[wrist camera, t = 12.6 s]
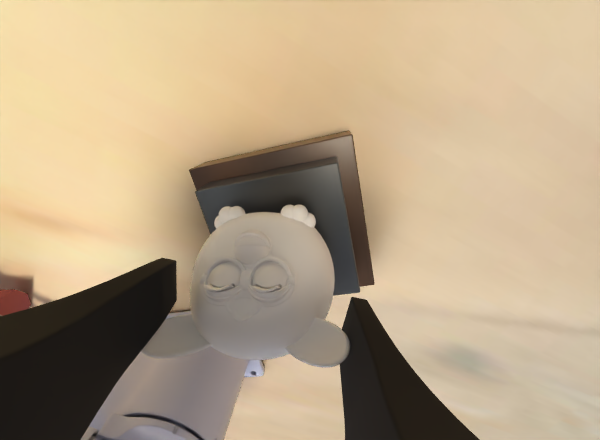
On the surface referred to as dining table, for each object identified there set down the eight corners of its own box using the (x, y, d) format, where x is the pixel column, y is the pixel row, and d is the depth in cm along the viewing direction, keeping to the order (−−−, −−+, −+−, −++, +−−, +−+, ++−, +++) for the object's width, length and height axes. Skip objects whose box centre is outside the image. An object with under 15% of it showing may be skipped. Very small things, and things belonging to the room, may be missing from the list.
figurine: (345, 197, 13) (352, 315, 8) (345, 290, 17) (349, 415, 11) (187, 201, 14) (96, 307, 9) (219, 287, 18) (168, 400, 12)
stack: (246, 281, 23) (227, 320, 19) (205, 162, 19) (171, 177, 15) (369, 265, 21) (379, 304, 17) (349, 130, 18) (355, 137, 13)
